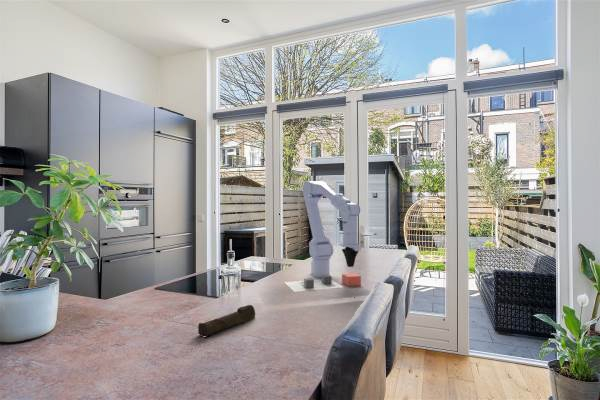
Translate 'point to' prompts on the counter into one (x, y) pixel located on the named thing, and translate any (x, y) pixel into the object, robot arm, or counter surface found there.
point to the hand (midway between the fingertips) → (350, 266)
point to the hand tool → (227, 321)
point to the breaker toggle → (309, 283)
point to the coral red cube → (351, 279)
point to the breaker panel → (318, 284)
